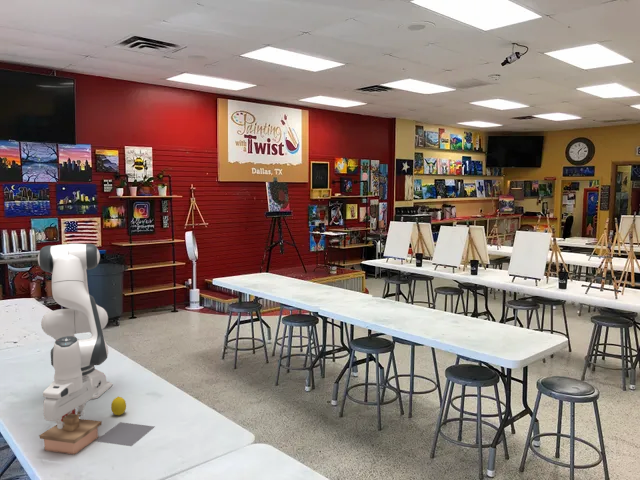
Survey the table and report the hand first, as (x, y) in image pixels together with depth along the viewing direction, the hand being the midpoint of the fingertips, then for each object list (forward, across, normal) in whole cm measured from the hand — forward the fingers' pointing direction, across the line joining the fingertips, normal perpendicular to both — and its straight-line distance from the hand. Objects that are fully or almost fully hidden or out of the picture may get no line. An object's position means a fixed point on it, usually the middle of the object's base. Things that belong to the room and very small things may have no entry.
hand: (70, 421), depth 179 cm
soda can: (+9, -9, -9) cm, 15 cm away
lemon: (+9, -24, +2) cm, 26 cm away
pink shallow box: (+9, 0, 0) cm, 9 cm away
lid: (+4, 0, 0) cm, 4 cm away
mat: (+9, -11, +14) cm, 20 cm away
